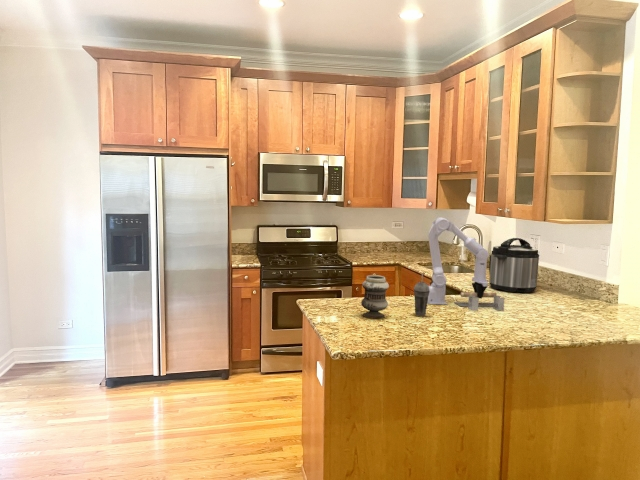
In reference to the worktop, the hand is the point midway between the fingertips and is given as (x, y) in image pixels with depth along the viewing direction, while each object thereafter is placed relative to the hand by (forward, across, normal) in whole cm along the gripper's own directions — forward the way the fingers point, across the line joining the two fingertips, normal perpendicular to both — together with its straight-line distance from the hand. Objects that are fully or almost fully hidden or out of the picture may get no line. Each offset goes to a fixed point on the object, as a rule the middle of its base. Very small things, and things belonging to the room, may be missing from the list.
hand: (478, 297), depth 239 cm
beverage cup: (+4, -22, +37) cm, 43 cm away
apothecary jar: (+4, -24, +59) cm, 64 cm away
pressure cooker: (+4, +44, -40) cm, 60 cm away
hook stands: (+4, -9, 0) cm, 10 cm away
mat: (+4, 0, 0) cm, 4 cm away
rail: (-1, 0, 0) cm, 1 cm away
